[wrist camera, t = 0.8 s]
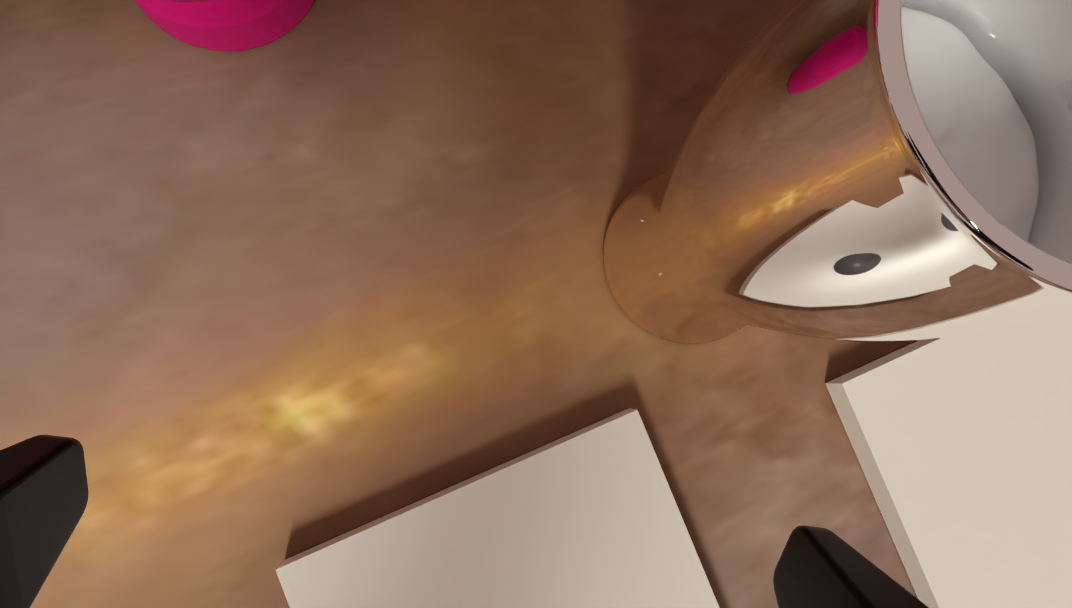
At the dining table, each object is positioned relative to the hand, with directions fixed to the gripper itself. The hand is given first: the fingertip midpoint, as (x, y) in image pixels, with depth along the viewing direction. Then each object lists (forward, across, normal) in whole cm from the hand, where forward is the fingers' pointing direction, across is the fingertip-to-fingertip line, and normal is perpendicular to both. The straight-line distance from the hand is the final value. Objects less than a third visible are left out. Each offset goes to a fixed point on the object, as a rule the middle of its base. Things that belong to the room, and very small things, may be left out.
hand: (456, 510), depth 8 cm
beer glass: (+15, -7, +1) cm, 17 cm away
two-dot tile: (+12, -22, +6) cm, 26 cm away
